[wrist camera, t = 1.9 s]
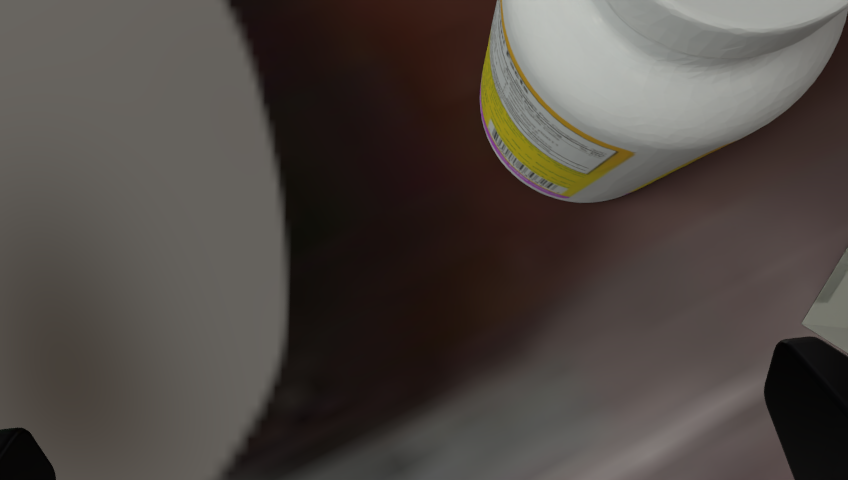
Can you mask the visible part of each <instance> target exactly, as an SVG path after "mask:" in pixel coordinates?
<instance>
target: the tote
mask: <svg viewBox="0 0 848 480" xmlns="http://www.w3.org/2000/svg"><path fill="white" fill-rule="evenodd" d="M801 324H802V325H804V326H805V327H807V328H809V329H810V330H812V331H813V332H815V333H817V334H818V335H820V336H821V337H823V338H825V339H826V340H828V341H829V342H831V343H833V344H834V345H836V346H837V347H839V348H841V349H842V350H844V351H845V352H847V353H848V248H847V249H846V251H845V252H844V254H843V256H842V257H841V259H840V261H839V262H838V264H837V266H836V267H835V269H834V271H833V272H832V274H831V276H830V277H829V279H828V280H827V282H826V284H825V285H824V287H823V289H822V290H821V292H820V294H819V295H818V297H817V299H816V300H815V302H814V304H813V305H812V307H811V308H810V310H809V312H808V313H807V315H806V317H805V318H804V320H803V322H802V323H801Z"/></svg>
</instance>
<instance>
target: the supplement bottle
mask: <svg viewBox="0 0 848 480" xmlns="http://www.w3.org/2000/svg"><path fill="white" fill-rule="evenodd" d="M847 13H848V0H497V4H496V9H495V13H494V18H493V23H492V27H491V32H490V37H489V43H488V47H487V52H486V57H485V62H484V67H483V72H482V78H481V87H480V108H481V116H482V122H483V126H484V129H485V132H486V135H487V138H488V140H489V142H490V144H491V146H492V148H493V150H494V152H495V153H496V155H497V156H498V158H499V159H500V161H501V162H502V163H503V164H504V165H505V167H506V168H507V169H508V170H509V171H510V172H511V173H512V174H513V175H514V176H516V177H517V178H518V179H519V180H520V181H522V182H523V183H525V184H526V185H528V186H529V187H531V188H532V189H534V190H536V191H538V192H540V193H542V194H545V195H547V196H550V197H553V198H556V199H560V200H565V201H570V202H578V203H592V202H601V201H607V200H611V199H615V198H618V197H621V196H624V195H626V194H629V193H631V192H634V191H636V190H638V189H640V188H642V187H644V186H646V185H648V184H650V183H653V182H654V181H656V180H658V179H660V178H662V177H664V176H666V175H668V174H670V173H672V172H674V171H676V170H678V169H680V168H682V167H684V166H686V165H688V164H690V163H692V162H694V161H696V160H698V159H700V158H702V157H704V156H706V155H708V154H710V153H712V152H714V151H716V150H718V149H720V148H722V147H725V146H727V145H729V144H731V143H733V142H735V141H737V140H739V139H741V138H743V137H745V136H747V135H749V134H751V133H753V132H754V131H756V130H758V129H760V128H761V127H763V126H765V125H767V124H768V123H770V122H771V121H773V120H774V119H775V118H777V117H778V116H779V115H781V114H782V113H783V112H785V111H786V110H787V109H788V108H790V107H791V106H792V105H793V104H794V103H795V102H796V101H797V100H798V99H800V98H801V97H802V95H803V94H804V93H805V92H806V91H807V90H808V88H809V87H810V86H811V85H812V84H813V83H814V82H815V80H816V79H817V77H818V76H819V75H820V73H821V72H822V70H823V69H824V67H825V65H826V64H827V62H828V60H829V59H830V57H831V55H832V53H833V51H834V49H835V47H836V45H837V43H838V41H839V39H840V36H841V33H842V30H843V27H844V24H845V21H846V17H847Z"/></svg>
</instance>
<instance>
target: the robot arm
mask: <svg viewBox="0 0 848 480" xmlns="http://www.w3.org/2000/svg"><path fill="white" fill-rule="evenodd" d="M764 396H765V402H766V405H767V408H768V411H769V414H770V416H771V419H772V421H773V424H774V427H775V429H776V432H777V435H778V437H779V440H780V443H781V445H782V448H783V450H784V453H785V456H786V458H787V461H788V464H789V466H790V469H791V472H792V474H793V477H794V479H795V480H848V356H847V355H845V354H844V353H842V352H840V351H839V350H837V349H836V348H834V347H832V346H831V345H829V344H828V343H826V342H824V341H823V340H821V339H819V338H816V337H801V338H792V339H784V340H781V341H780V342H779V343H778V344H777V345H776V347H775V350H774V353H773V357H772V360H771V364H770V367H769V371H768V375H767V378H766V382H765V386H764ZM0 480H56V477H55V472H54V469H53V466H52V465H51V463H50V462H49V460H48V459H47V457H46V456H45V454H44V453H43V451H42V450H41V448H40V447H39V445H38V444H37V442H36V441H35V439H34V437H33V436H32V434H31V433H30V432H29V431H27V430H26V429H24V428H9V429H1V430H0Z"/></svg>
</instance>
